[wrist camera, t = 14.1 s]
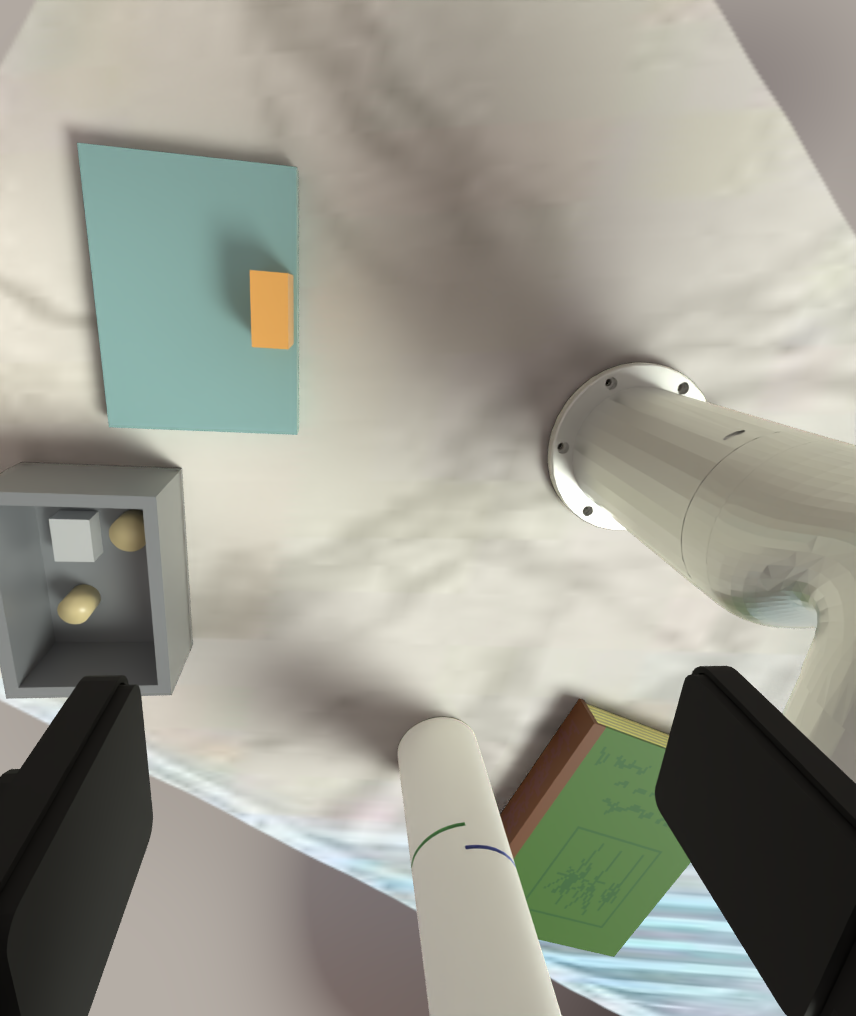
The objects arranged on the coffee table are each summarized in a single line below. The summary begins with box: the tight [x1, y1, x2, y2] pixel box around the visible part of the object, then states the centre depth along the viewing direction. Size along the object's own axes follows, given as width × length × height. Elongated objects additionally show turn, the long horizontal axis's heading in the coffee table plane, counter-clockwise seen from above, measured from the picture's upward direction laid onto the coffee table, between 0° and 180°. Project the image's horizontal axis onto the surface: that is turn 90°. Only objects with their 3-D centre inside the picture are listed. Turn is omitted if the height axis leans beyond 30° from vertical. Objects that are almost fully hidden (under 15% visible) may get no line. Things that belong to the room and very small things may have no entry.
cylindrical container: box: [397, 717, 561, 1016], centre depth 40 cm, size 7×7×25 cm
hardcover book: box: [500, 698, 690, 957], centre depth 56 cm, size 25×19×4 cm
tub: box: [0, 462, 193, 698], centre depth 38 cm, size 10×14×6 cm
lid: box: [77, 143, 299, 435], centre depth 34 cm, size 12×16×6 cm
